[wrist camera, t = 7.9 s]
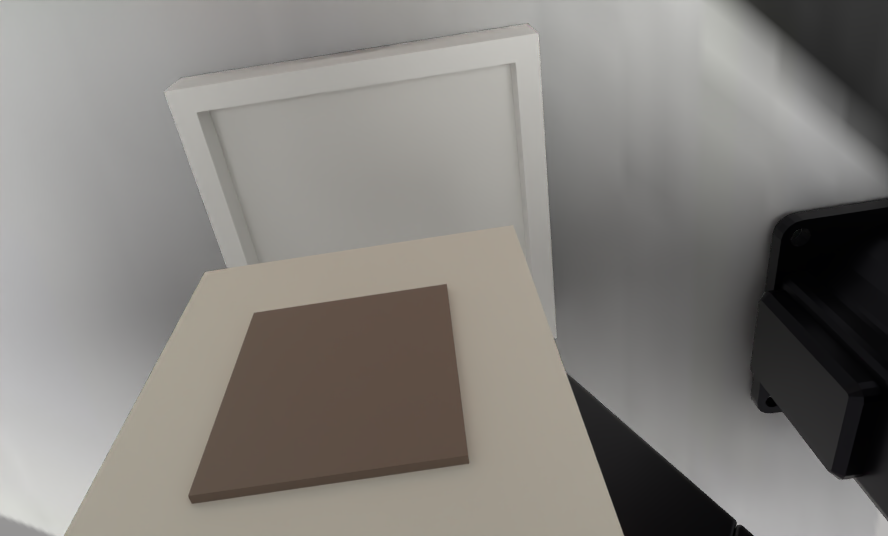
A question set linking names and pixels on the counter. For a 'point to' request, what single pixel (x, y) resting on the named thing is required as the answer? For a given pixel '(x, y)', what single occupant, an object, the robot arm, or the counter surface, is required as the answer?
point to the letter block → (358, 405)
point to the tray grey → (374, 149)
